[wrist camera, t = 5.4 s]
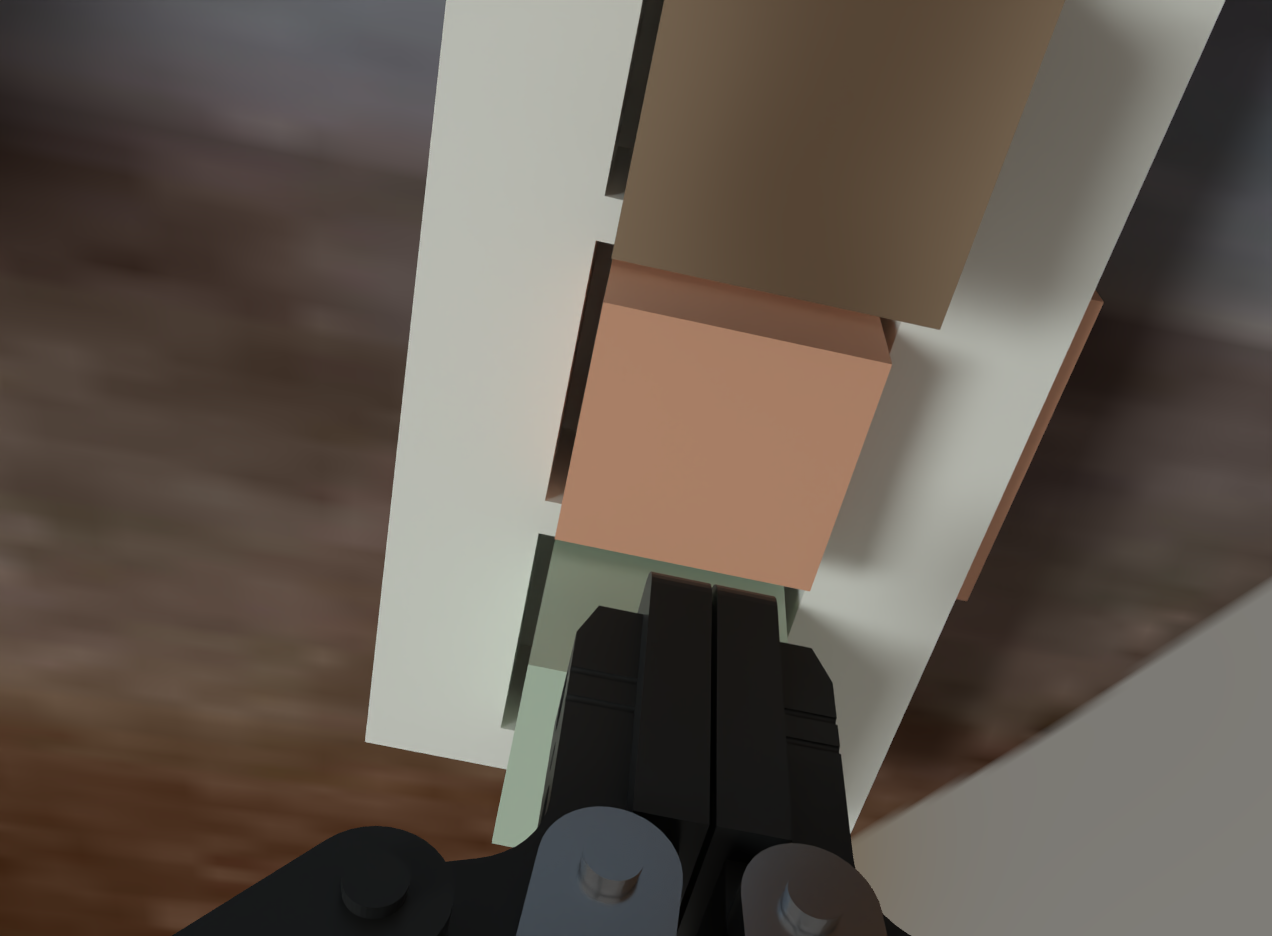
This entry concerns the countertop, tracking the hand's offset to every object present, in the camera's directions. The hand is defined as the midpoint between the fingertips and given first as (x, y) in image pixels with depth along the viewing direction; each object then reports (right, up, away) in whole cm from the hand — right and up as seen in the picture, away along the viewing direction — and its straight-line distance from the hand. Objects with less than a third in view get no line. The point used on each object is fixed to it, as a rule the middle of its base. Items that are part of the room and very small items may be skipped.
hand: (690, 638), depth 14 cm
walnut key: (+2, +8, +3) cm, 8 cm away
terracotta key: (+1, +4, +7) cm, 8 cm away
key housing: (+1, +5, +8) cm, 9 cm away
